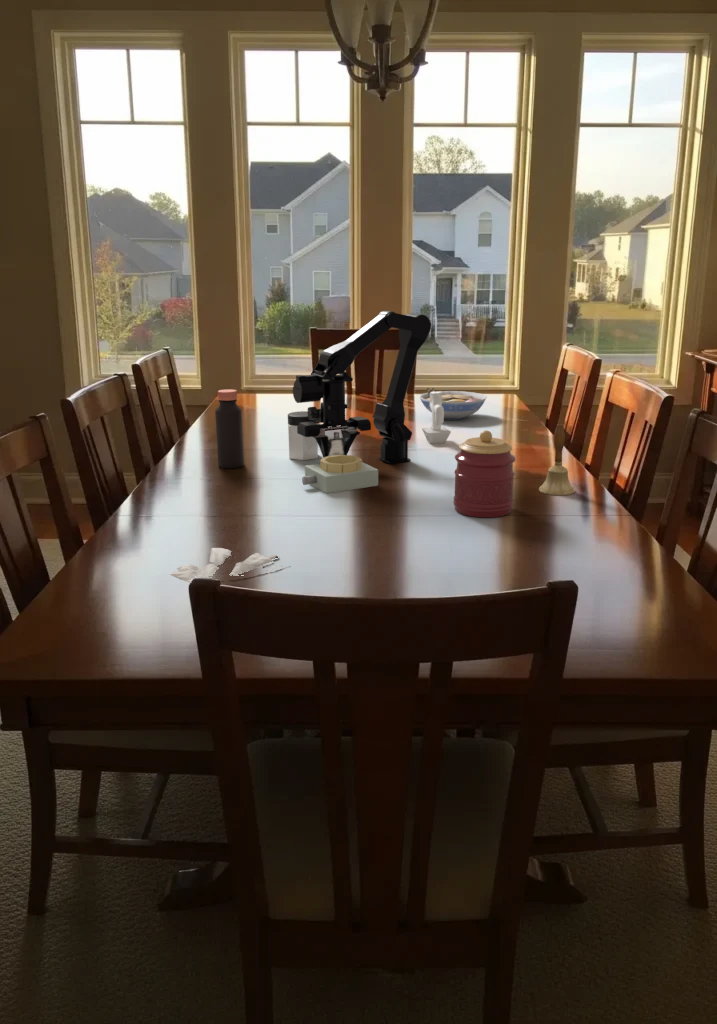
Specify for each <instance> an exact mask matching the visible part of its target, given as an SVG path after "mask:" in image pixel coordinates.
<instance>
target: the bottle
mask: <svg viewBox="0 0 717 1024" xmlns="http://www.w3.org/2000/svg"><path fill="white" fill-rule="evenodd" d="M217 399H218V402H219V405H218V406H217V408H216V409H215V411H214V414H215V415H214V416H215V428H216V429H215V430H216V432H215V433H216V447H217V448H216V450H217V465H218V466H219V468H222V469H238V468H241V467H243V466H244V465H245V453H244V441H243V440H244V437H243V435H244V433H243V415H242V409H241V407H240V406H238V405H237V401H238V390H237V389H219V390H217Z"/></svg>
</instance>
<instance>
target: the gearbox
mask: <svg viewBox="0 0 717 1024" xmlns="http://www.w3.org/2000/svg"><path fill="white" fill-rule="evenodd" d="M362 459H363V458H360V457H358V456H356V455H351V454H350V455H349V454H347V455H334V456H326V457H324V458H321V459H320V460H319V461H320V463H316V464H307V465H304V476H302V477H301V481H302V482H301V483H302V485H303V486H306V485H311V486H313V487H314V488H316V489H318V490H320V491H321V492H323V493H325V494H331V493H338V492H344V491H350V490H358V489H364V488H369V487H370V488H371V487H378V486H379V469H377V468H376V467H373V466H371V465H369V464H367V463H364V462H363V460H362Z"/></svg>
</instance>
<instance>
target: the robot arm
mask: <svg viewBox="0 0 717 1024" xmlns="http://www.w3.org/2000/svg"><path fill="white" fill-rule="evenodd" d="M390 329H398V339H399V344H400V345H399V350H398V354H397V357H396V360H395V364H394V368H393V371H392V375H391V379H390V383H389V387H388V390H387V393H386V397H385V399H384V400H383V401H382V403H380V402H377V403H376V404H375V410H374V412H373V415H372V416H371V418H373V421H372V422H373V426H374V428H375V429H376V430H377V432H378V434H379V436H380V437H381V439H382V440H381V444H380V456H379V457H378V459H379V460H380V461H383V462H385V463H387V464H399V463H405V462H406V463H407V462H410V461H411V458H409V457H408V454H409V453H408V447H409V445H408V442H409V441H410V440H411V438H412V435H413V432H412V431H411V430H410V429H409V428H408V426H406V425H405V419H406V412H405V400H406V399H405V398H406V396H407V392H408V389H409V388H408V387H409V385H410V380H411V378H412V375H413V374H412V373H413V370H414V367H415V363H416V358H417V356H418V351H419V350H420V349H421V347H422V346H423V345H424V344H425V343H426V341H427V339H428V336H429V334H430V333H431V330H432V321H431V320H430V318H429V317H428V316H427V315H425V314H418V313H410V312H409V313H407V314H401V313H397V312H394V311H391V310H382V311H380V312H379V314H378V315H377V316H375V317H374V318H373V319H372V320H370V321H369V322H368V323H366V324H365V325H364V326H363V327H361V328H360V329H358V330H357V331H356V332H355V333H353V334H352V335H351V336H349V338H347V339H346V340H344V341H342V342H338V343H337V344H333V345H332V346H329V347H328V348H326V349H324V350H323V351H321V353H320V354H319V358H318V361H317V364H315V367H314V368H313V369H312V372H311V373H310V374H308V375H307V374H306V375H303V374H297V375H296V376H295V381H294V383H293V387H292V396H293V399H294V401H295V403H297V404H302V403H312V402H313V403H314V402H320V401H321V399H322V402H320V405H319V406H320V408H317V407H316V406H309V407H307V411H308V419H309V420H313V419H315V423H314V422H302V423H299V425H298V426H297V433H298V434H300V435H302V436H304V437H314V438H315V439H316V441H317V443H318V447H319V450H320V452H321V455H322V457H323V458H324V457H326V456H328V437H329V436H328V435H326V432H328V431H329V432H330V431H337V430H338V431H339V430H340V433H341V437H343V438H344V455H349V454H348V453H349V451H350V449H351V447H352V445H353V443H354V441H355V439H356V438H357V436H358V435H359V436H360V434H361V432H366V431H371V430H372V423H371V420H370V419H369V418H366V417H364V416H360V415H359V416H352V417H349V418H348V419H346V409H348V404H347V403H346V383H347V382H353V380H354V378H352V377H351V376H350V375H349V373H348V372H347V370H348V369H349V367H350V366H351V365H352V364H353V363H354V361H355V359H356V357H357V356H358V355H359V354H360V353H361V352H363V350H365V349H366V348H367V347H369V346H370V345H371V344H372V343H373V342H375V341H376V340H378V339H379V338H380V337H381V336H383V335H384V334H385V333H387V332H388V331H389V330H390ZM316 423H317V424H316ZM358 430H359V431H358ZM323 458H322V459H323Z"/></svg>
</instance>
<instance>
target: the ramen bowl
mask: <svg viewBox="0 0 717 1024" xmlns="http://www.w3.org/2000/svg"><path fill="white" fill-rule="evenodd" d="M426 391H427V392H425V393H422V394H420V395H419V399H420V402H421V403H422V404H423V405H422V406H424V408H425V409H426V410H427V411H429V412H430V413H432V410H431V409H430V393H431V392H433V391H434V392H439V391H441V392H442V404H441V406H442V407H443V409H444V420H450V421H451V420H454V421H455V420H462V419H465V417H469V416H470V415H473V414H475V413H477V412H478V411H479V410H480V409H481V408H482V406H483V405H484V403H485V401H486V399H487V398H488V397H487V395H485V394H483V393H478V392H473V391H463V390H461V391H460V390H439V391H438V390H437V391H435V388H434V387H432V388H431V390H430V388H429V387H427V388H426Z"/></svg>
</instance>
